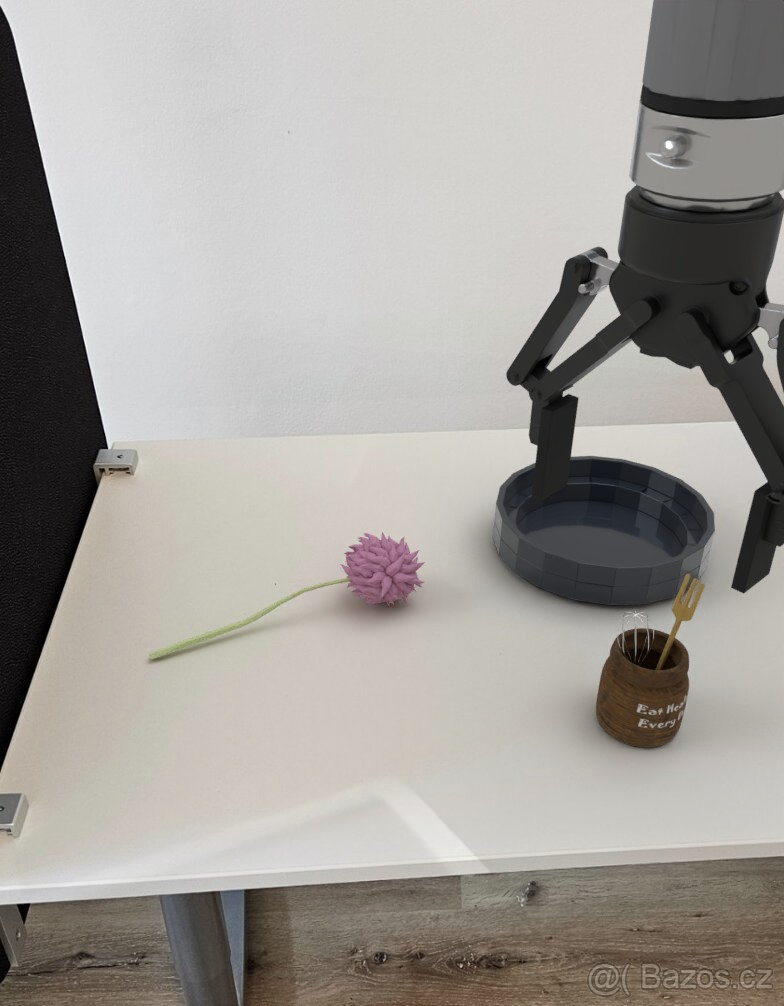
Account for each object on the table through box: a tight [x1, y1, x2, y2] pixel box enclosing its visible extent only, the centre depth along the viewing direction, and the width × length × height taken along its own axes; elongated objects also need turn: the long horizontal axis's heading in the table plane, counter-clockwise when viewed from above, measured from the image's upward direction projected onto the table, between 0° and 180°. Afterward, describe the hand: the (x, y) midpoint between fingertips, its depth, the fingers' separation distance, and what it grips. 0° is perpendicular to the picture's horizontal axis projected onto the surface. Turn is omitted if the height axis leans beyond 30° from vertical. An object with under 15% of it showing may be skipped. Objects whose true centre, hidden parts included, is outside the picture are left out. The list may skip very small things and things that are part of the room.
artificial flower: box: [148, 531, 426, 660], centre depth 91 cm, size 7×7×25 cm
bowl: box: [492, 455, 716, 606], centre depth 97 cm, size 18×18×4 cm
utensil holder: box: [595, 574, 706, 748], centre depth 77 cm, size 6×6×12 cm
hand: (642, 533), depth 66 cm, fingers open, 13 cm apart
